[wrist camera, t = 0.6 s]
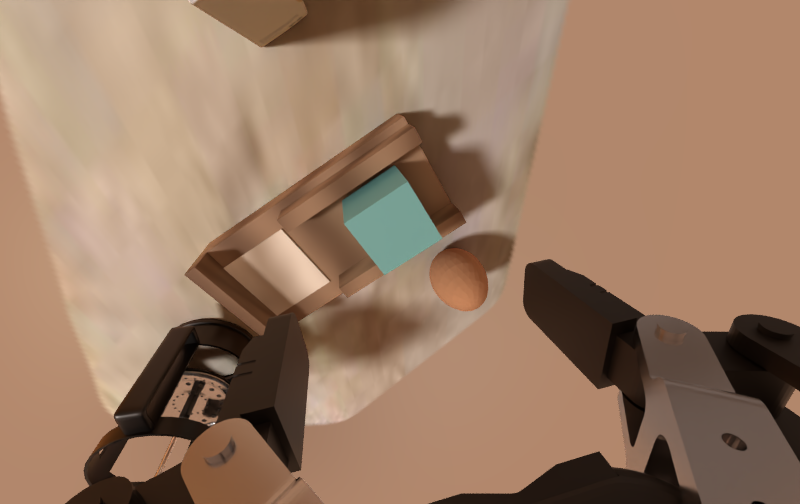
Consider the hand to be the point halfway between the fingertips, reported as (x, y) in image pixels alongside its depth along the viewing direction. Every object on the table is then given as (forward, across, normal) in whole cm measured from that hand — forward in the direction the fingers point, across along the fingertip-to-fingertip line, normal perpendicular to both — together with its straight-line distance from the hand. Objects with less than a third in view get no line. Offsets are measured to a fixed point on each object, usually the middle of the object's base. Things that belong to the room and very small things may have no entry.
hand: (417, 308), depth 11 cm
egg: (+20, -7, +9) cm, 24 cm away
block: (+16, -1, +1) cm, 16 cm away
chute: (+20, +3, +3) cm, 20 cm away
